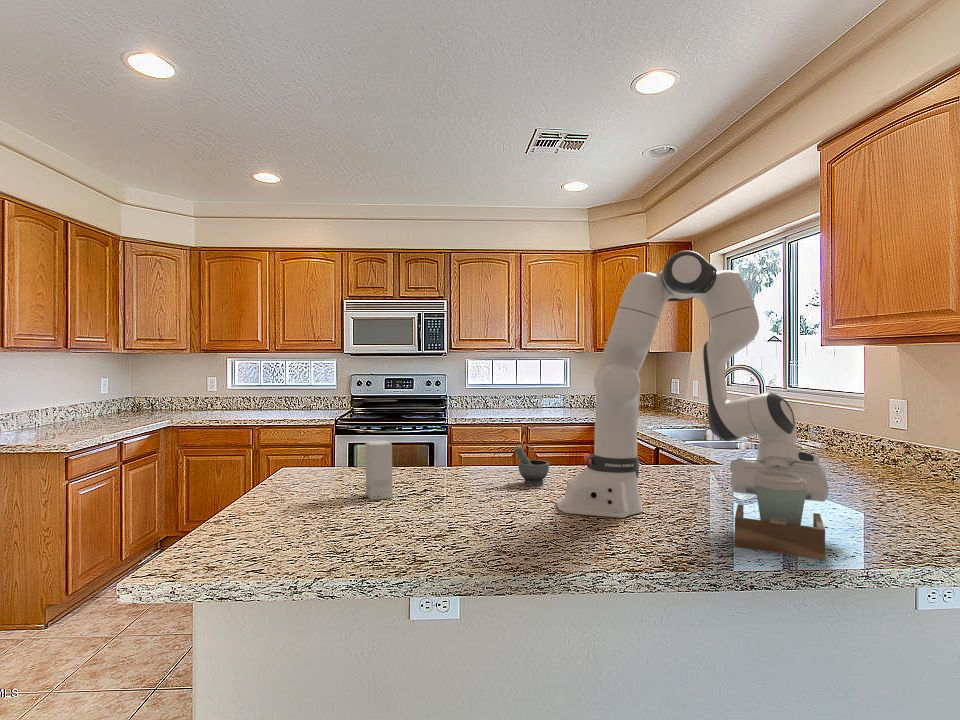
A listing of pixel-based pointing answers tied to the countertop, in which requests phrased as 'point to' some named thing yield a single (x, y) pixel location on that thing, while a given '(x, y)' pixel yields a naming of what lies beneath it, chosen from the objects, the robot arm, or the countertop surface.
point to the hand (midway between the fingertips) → (778, 511)
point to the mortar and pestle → (531, 469)
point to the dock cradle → (780, 535)
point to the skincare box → (378, 470)
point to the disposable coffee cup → (780, 495)
